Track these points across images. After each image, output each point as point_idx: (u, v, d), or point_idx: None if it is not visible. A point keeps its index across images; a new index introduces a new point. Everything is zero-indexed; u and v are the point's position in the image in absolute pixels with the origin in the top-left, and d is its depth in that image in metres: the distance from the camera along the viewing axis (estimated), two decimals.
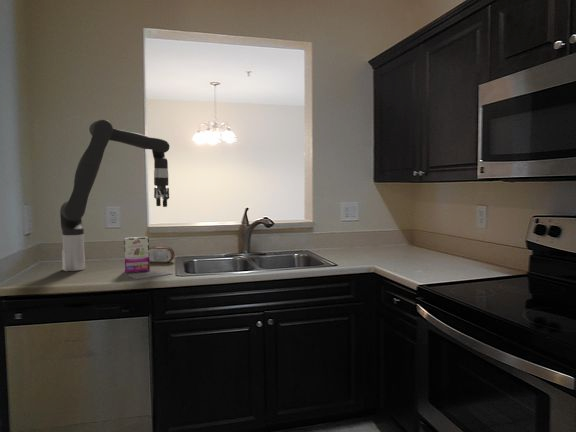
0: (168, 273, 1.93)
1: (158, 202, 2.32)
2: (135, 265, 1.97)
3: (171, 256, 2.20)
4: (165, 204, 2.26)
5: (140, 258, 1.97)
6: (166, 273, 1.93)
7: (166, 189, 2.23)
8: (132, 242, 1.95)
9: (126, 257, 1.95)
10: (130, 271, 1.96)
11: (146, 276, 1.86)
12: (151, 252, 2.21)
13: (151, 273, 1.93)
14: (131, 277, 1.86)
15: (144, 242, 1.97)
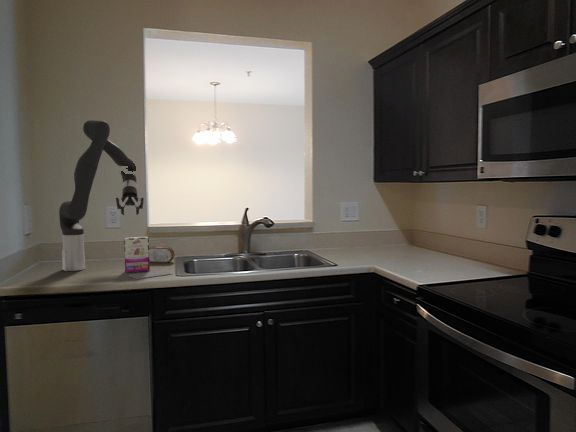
0: (168, 273, 1.93)
1: (123, 211, 2.14)
2: (135, 265, 1.97)
3: (171, 256, 2.20)
4: None
5: (140, 258, 1.97)
6: (166, 273, 1.93)
7: (143, 200, 2.22)
8: (132, 242, 1.95)
9: (126, 257, 1.95)
10: (130, 271, 1.96)
11: (146, 276, 1.86)
12: (151, 252, 2.21)
13: (151, 273, 1.93)
14: (131, 277, 1.86)
15: (144, 242, 1.97)
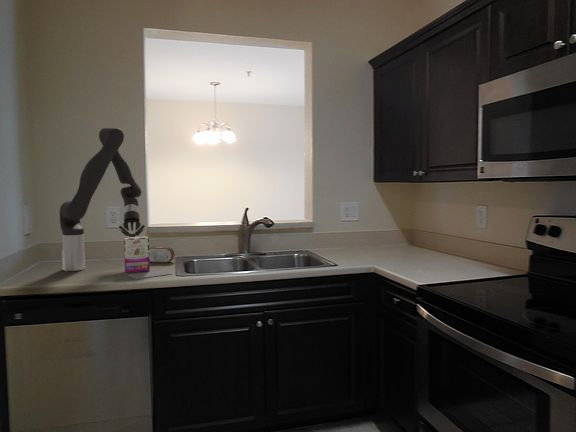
0: (168, 273, 1.93)
1: None
2: (135, 265, 1.97)
3: (171, 256, 2.20)
4: None
5: (140, 258, 1.97)
6: (166, 273, 1.93)
7: (144, 228, 2.14)
8: (132, 242, 1.95)
9: (126, 257, 1.95)
10: (130, 271, 1.96)
11: (146, 276, 1.86)
12: (151, 252, 2.21)
13: (151, 273, 1.93)
14: (131, 277, 1.86)
15: (144, 242, 1.97)
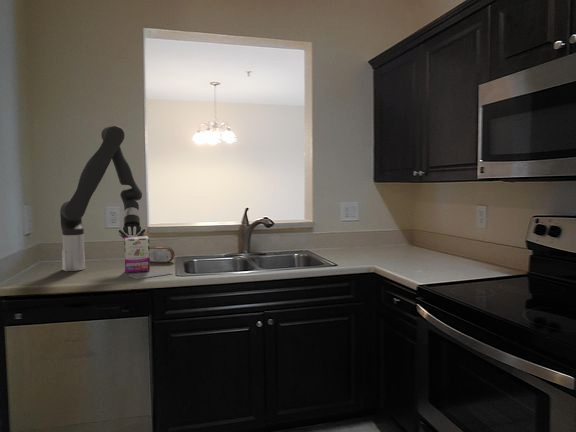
0: (168, 273, 1.93)
1: None
2: (136, 265, 1.96)
3: (171, 256, 2.20)
4: None
5: (140, 258, 1.96)
6: (166, 273, 1.93)
7: (144, 232, 2.05)
8: (132, 243, 1.93)
9: (126, 258, 1.94)
10: (130, 271, 1.96)
11: (146, 276, 1.86)
12: (151, 252, 2.21)
13: (151, 273, 1.93)
14: (131, 277, 1.86)
15: (144, 243, 1.95)
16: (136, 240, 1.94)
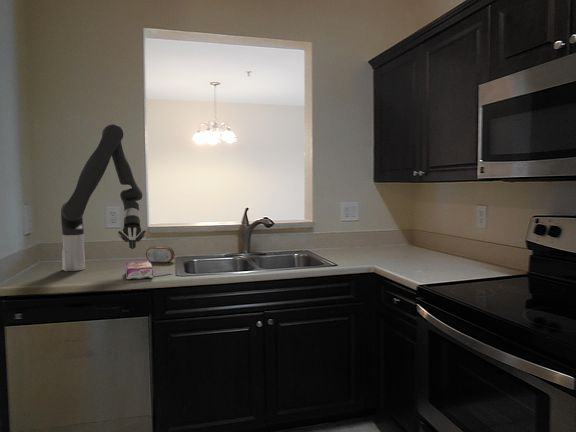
0: (168, 273, 1.93)
1: None
2: None
3: (171, 256, 2.20)
4: None
5: None
6: (166, 273, 1.93)
7: (145, 233, 2.00)
8: None
9: None
10: None
11: None
12: (151, 252, 2.21)
13: None
14: None
15: None
16: None
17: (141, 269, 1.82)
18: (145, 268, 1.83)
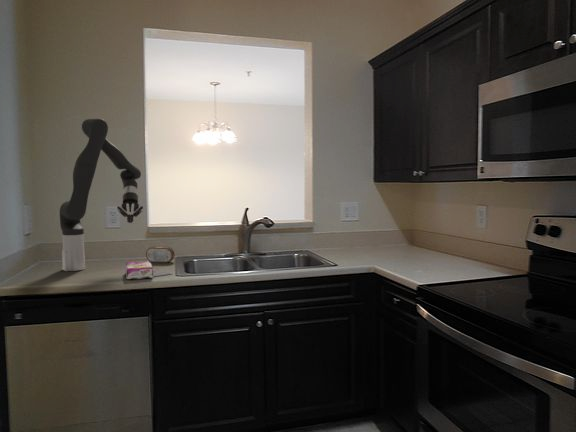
0: (168, 273, 1.93)
1: None
2: None
3: (171, 256, 2.20)
4: None
5: None
6: (166, 273, 1.93)
7: (142, 209, 2.14)
8: None
9: None
10: None
11: None
12: (151, 252, 2.21)
13: None
14: None
15: None
16: None
17: (141, 269, 1.82)
18: (145, 268, 1.83)
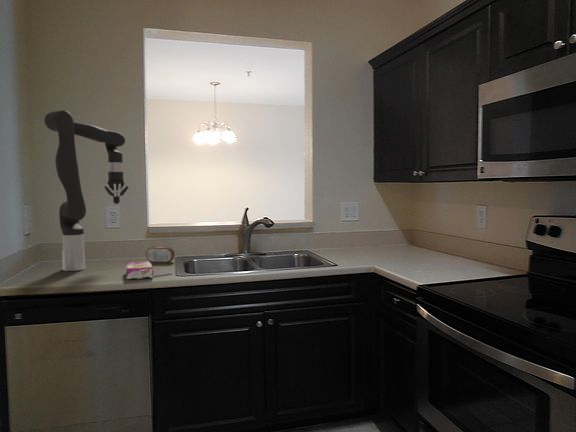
0: (168, 273, 1.93)
1: None
2: None
3: (171, 256, 2.20)
4: None
5: None
6: (166, 273, 1.93)
7: None
8: None
9: None
10: None
11: None
12: (151, 252, 2.21)
13: None
14: None
15: None
16: None
17: (141, 269, 1.82)
18: (145, 268, 1.83)
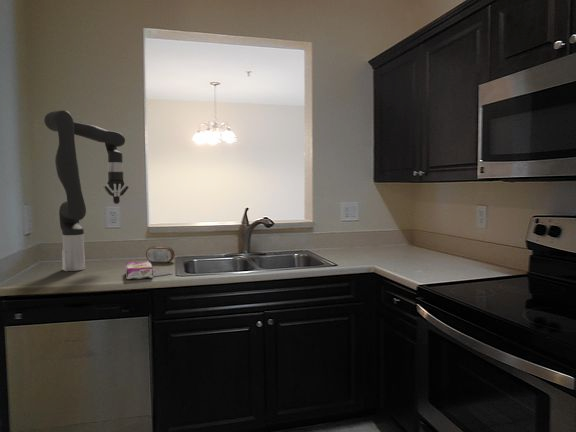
0: (168, 273, 1.93)
1: None
2: None
3: (171, 256, 2.20)
4: None
5: None
6: (166, 273, 1.93)
7: None
8: None
9: None
10: None
11: None
12: (151, 252, 2.21)
13: None
14: None
15: None
16: None
17: (141, 269, 1.82)
18: (145, 268, 1.83)
